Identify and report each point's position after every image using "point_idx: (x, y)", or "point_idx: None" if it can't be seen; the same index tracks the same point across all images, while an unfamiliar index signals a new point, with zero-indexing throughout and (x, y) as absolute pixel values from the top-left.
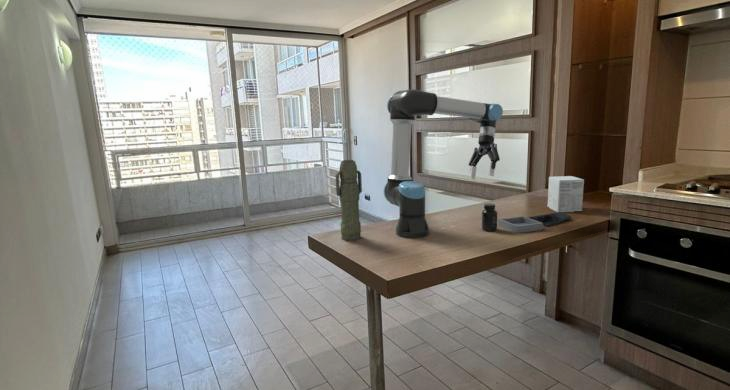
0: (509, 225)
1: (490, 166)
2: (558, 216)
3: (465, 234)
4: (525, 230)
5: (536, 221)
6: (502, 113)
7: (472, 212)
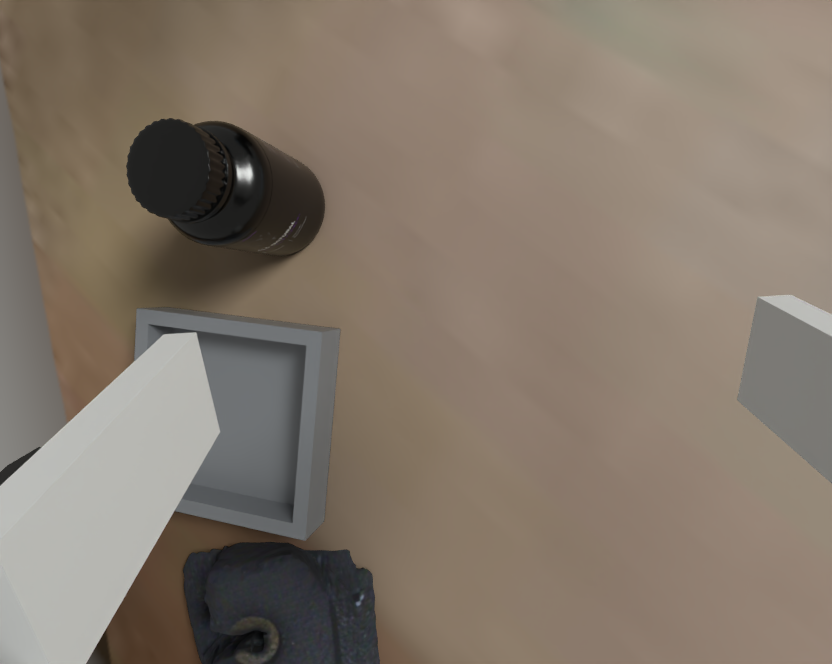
0: (210, 316)
1: (53, 440)
2: None
3: (267, 3)
4: None
5: None
6: None
7: None
